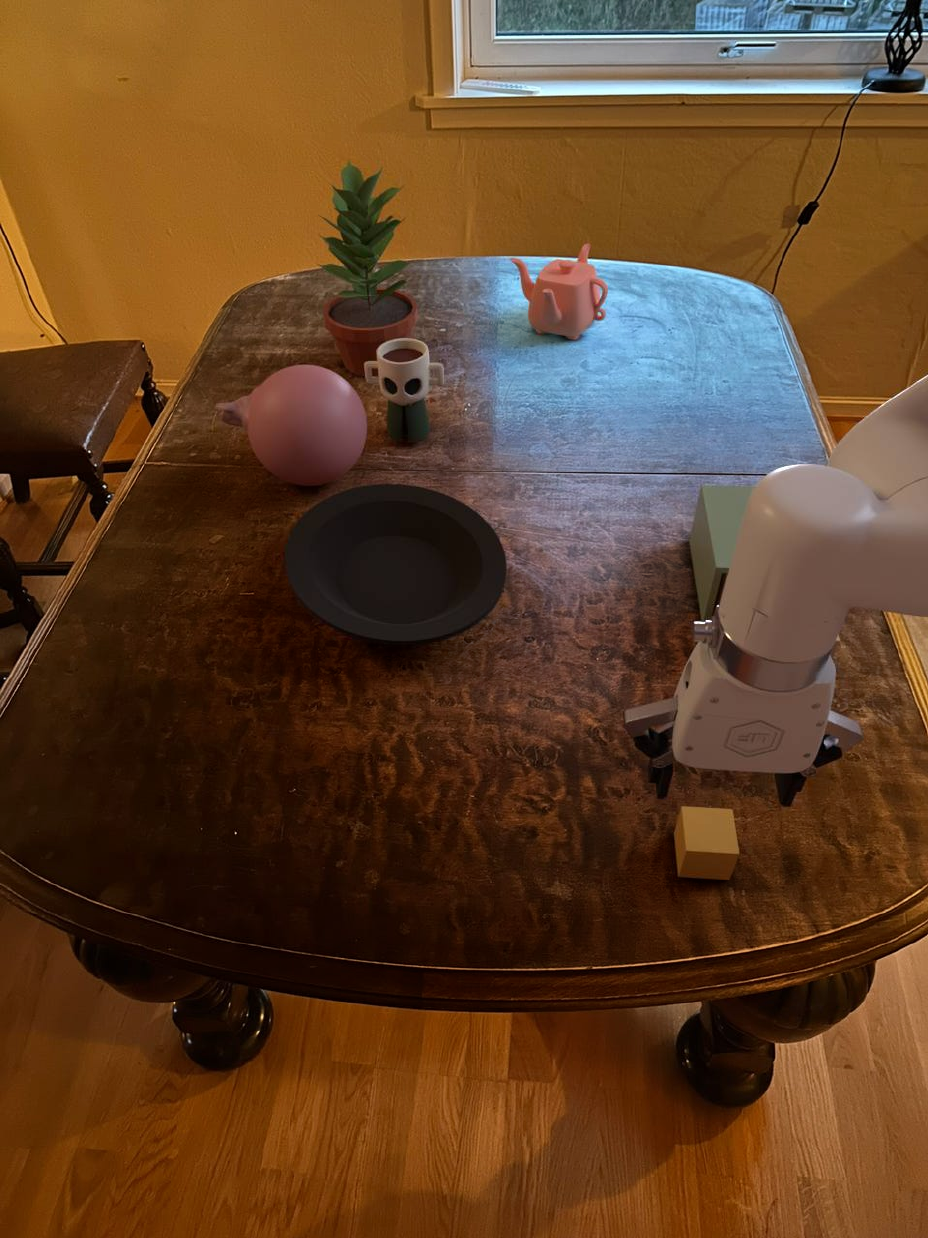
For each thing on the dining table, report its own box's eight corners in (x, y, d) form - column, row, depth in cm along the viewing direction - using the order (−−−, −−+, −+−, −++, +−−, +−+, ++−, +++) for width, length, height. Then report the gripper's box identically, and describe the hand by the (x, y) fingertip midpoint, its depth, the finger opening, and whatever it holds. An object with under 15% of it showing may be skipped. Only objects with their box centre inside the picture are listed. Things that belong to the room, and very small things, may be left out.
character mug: (367, 446, 125) (357, 362, 116) (375, 419, 130) (366, 336, 121) (443, 449, 124) (440, 364, 115) (449, 421, 129) (445, 338, 120)
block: (723, 835, 80) (732, 808, 77) (729, 880, 77) (739, 854, 74) (673, 833, 80) (681, 806, 77) (678, 877, 77) (686, 850, 74)
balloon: (254, 433, 128) (231, 334, 117) (386, 449, 124) (376, 348, 113) (208, 497, 117) (179, 394, 106) (351, 516, 114) (337, 411, 103)
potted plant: (345, 334, 149) (321, 139, 127) (431, 344, 146) (421, 146, 124) (311, 378, 139) (279, 175, 117) (403, 390, 135) (387, 183, 114)
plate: (551, 622, 99) (553, 585, 95) (362, 712, 91) (357, 676, 87) (425, 496, 116) (423, 460, 112) (256, 562, 108) (248, 526, 104)
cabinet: (808, 629, 98) (829, 571, 92) (702, 625, 99) (715, 567, 93) (785, 544, 108) (802, 487, 102) (689, 540, 109) (700, 484, 103)
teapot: (541, 354, 143) (544, 287, 135) (508, 316, 152) (508, 252, 144) (622, 337, 146) (629, 271, 138) (584, 301, 155) (589, 238, 148)
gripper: (642, 675, 57) (613, 821, 69) (920, 690, 56) (841, 836, 68) (636, 595, 62) (610, 744, 74) (889, 607, 61) (821, 756, 73)
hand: (720, 787), depth 71 cm, fingers open, 9 cm apart
